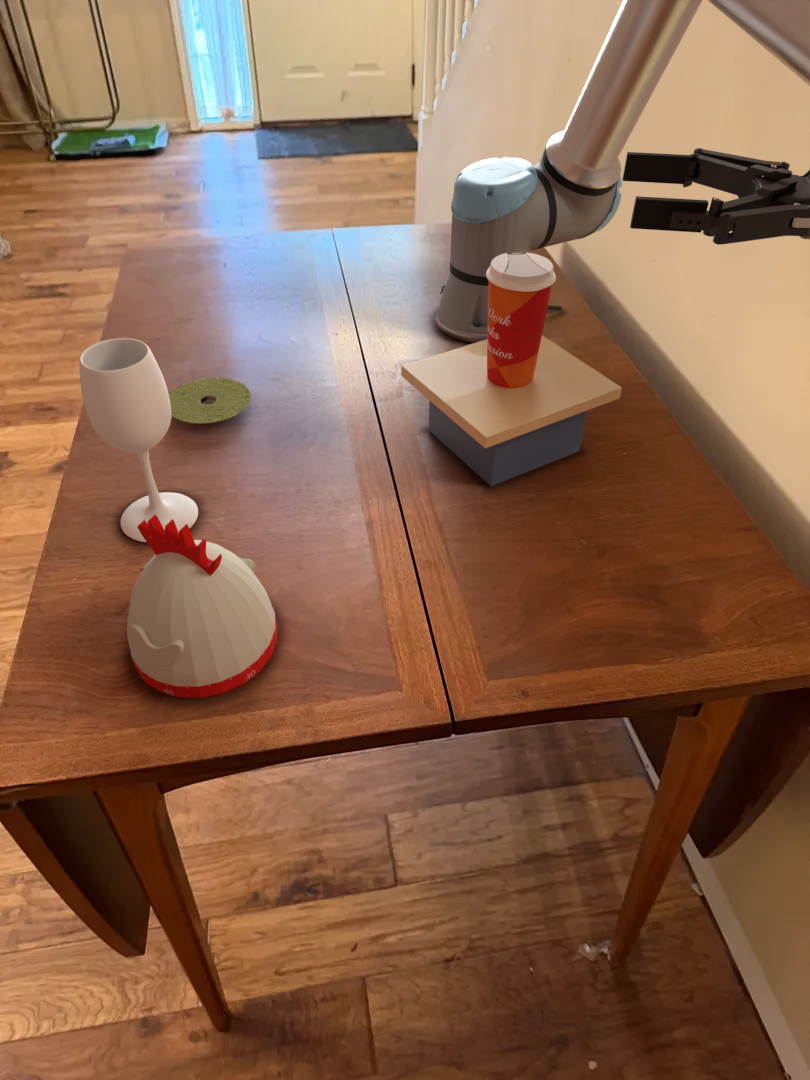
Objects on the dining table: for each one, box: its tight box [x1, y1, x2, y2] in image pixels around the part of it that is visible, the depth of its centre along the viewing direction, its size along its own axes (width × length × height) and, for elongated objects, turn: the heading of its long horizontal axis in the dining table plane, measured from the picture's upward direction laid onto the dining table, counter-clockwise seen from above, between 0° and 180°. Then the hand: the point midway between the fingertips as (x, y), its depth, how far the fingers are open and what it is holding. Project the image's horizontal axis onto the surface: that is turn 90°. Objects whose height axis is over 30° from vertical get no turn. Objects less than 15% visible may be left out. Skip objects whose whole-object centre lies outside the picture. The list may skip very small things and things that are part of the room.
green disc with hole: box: [169, 377, 252, 424], centre depth 105 cm, size 11×11×2 cm
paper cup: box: [486, 252, 557, 388], centre depth 90 cm, size 8×8×14 cm
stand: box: [400, 334, 623, 487], centre depth 98 cm, size 20×18×10 cm
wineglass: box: [78, 337, 199, 543], centre depth 82 cm, size 9×9×21 cm
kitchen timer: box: [126, 515, 278, 699], centre depth 71 cm, size 14×14×15 cm
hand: (628, 188), depth 78 cm, fingers open, 13 cm apart
